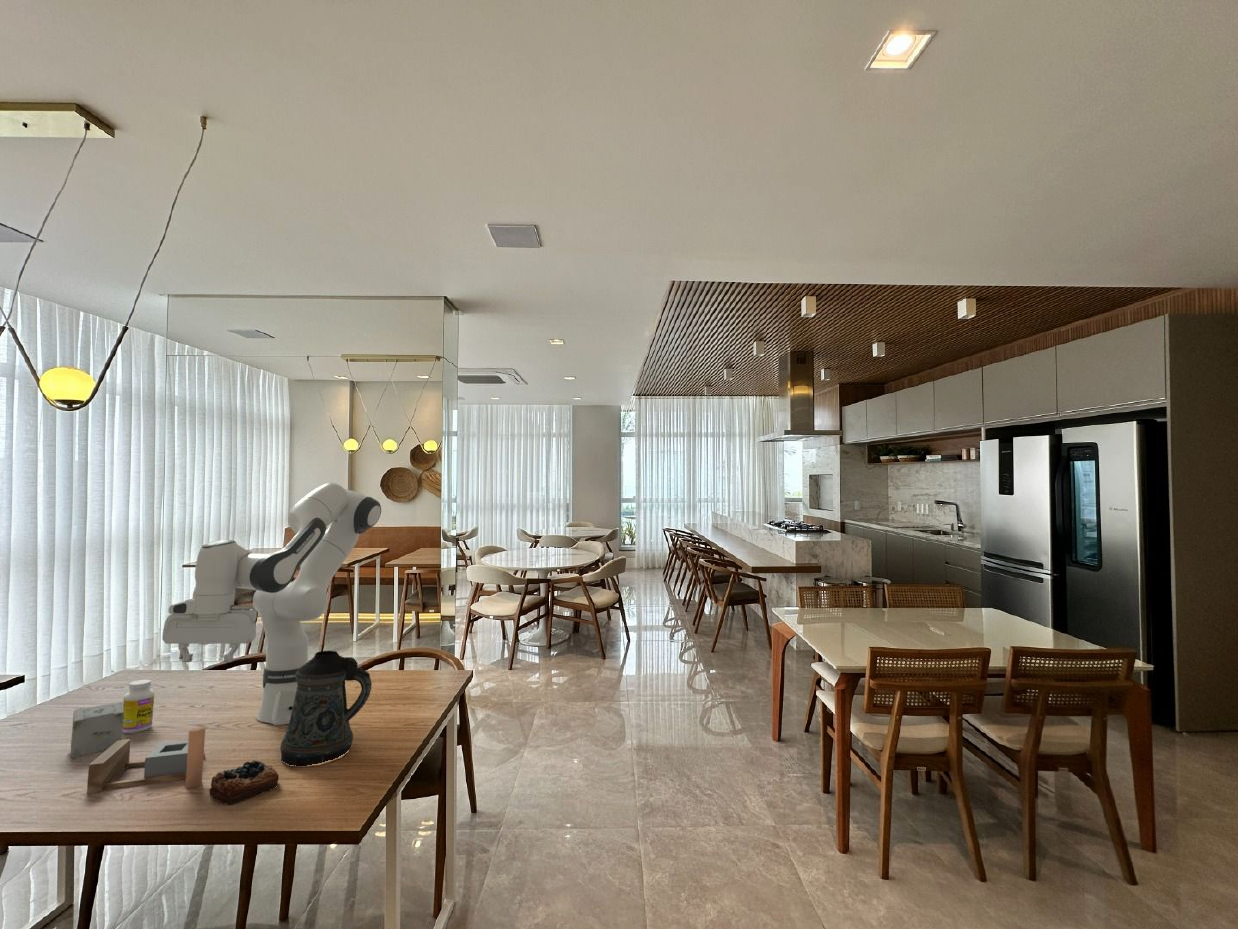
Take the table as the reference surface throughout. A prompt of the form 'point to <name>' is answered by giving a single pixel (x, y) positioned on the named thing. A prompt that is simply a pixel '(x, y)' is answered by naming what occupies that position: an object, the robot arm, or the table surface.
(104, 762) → the rail frame
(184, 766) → the block
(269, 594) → the robot arm
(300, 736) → the beer stein
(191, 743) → the dowel
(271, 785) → the pastry
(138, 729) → the supplement bottle
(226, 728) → the table surface
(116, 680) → the table surface
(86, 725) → the incense holder
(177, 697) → the table surface
